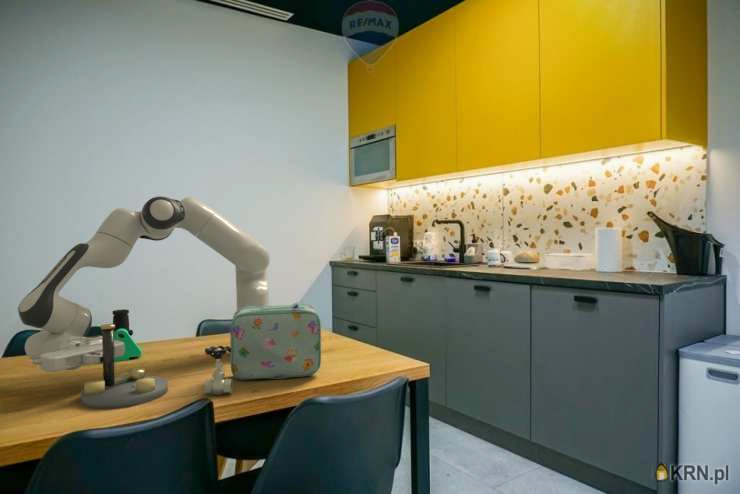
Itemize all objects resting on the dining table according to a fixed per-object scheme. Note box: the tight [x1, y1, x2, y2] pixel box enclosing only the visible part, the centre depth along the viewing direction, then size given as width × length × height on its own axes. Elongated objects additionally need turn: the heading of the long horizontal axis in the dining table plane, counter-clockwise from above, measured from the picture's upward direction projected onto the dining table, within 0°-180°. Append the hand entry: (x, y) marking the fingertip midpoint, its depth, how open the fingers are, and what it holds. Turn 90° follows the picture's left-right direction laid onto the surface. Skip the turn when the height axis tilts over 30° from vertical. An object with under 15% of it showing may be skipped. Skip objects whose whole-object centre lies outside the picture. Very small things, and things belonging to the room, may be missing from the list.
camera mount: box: [114, 329, 143, 362], centre depth 161 cm, size 12×8×10 cm, turn 113°
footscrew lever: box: [100, 323, 146, 386], centre depth 126 cm, size 12×4×16 cm, turn 155°
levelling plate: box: [80, 375, 169, 410], centre depth 123 cm, size 20×20×4 cm
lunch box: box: [229, 301, 323, 381], centre depth 139 cm, size 27×10×21 cm, turn 102°
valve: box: [203, 345, 234, 396], centre depth 122 cm, size 7×7×12 cm
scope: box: [112, 309, 134, 338], centre depth 175 cm, size 8×14×10 cm
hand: (103, 359), depth 122 cm, fingers closed, pressing on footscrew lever
